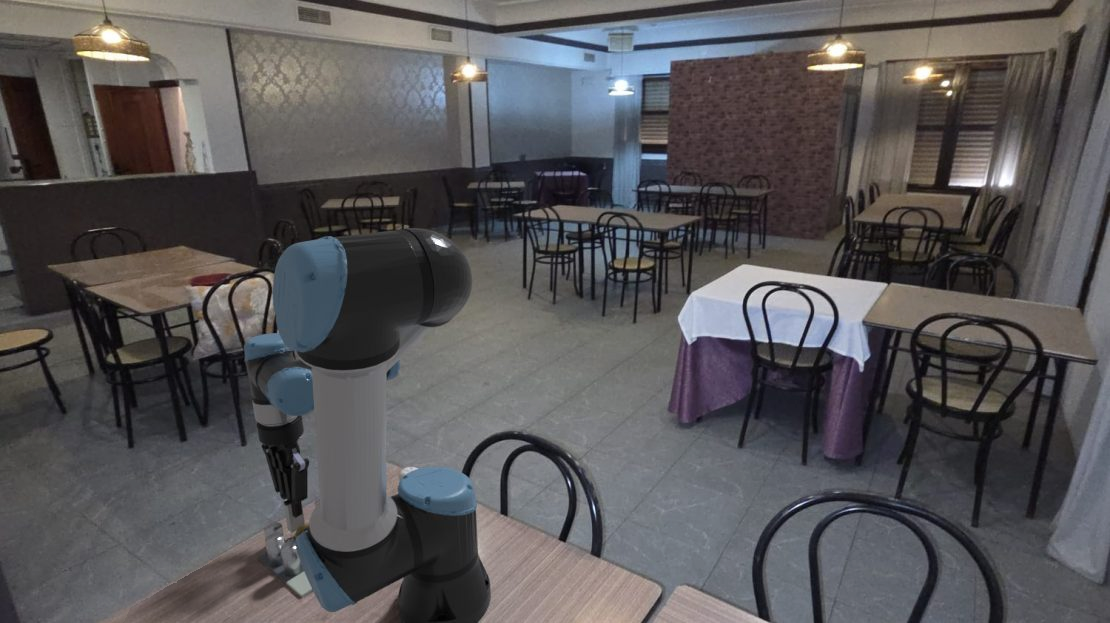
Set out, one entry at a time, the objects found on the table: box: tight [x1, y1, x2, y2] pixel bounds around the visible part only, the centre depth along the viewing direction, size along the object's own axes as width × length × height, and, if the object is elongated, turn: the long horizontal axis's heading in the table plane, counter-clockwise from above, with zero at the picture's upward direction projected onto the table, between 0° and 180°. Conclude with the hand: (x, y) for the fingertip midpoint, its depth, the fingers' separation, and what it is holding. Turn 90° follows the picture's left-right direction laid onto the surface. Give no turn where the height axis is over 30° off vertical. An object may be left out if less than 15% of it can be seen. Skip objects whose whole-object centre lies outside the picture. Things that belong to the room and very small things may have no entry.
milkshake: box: [398, 466, 425, 482], centre depth 120 cm, size 4×5×10 cm
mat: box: [258, 537, 313, 598], centre depth 109 cm, size 15×16×1 cm
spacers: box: [263, 497, 320, 577], centre depth 109 cm, size 10×15×5 cm
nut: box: [293, 521, 310, 541], centre depth 110 cm, size 6×5×3 cm
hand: (296, 527), depth 113 cm, fingers closed
